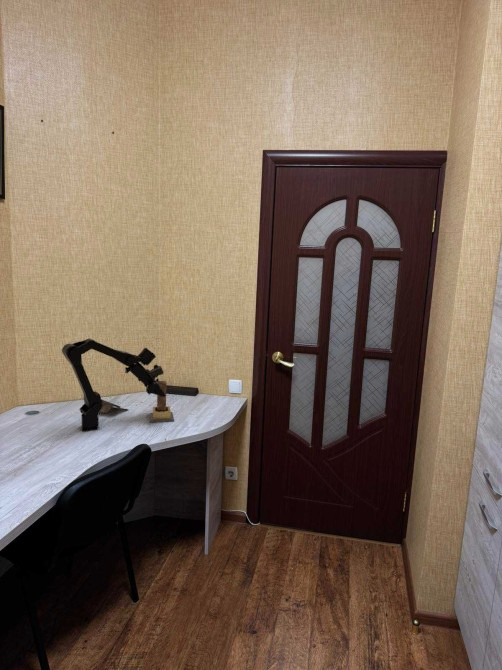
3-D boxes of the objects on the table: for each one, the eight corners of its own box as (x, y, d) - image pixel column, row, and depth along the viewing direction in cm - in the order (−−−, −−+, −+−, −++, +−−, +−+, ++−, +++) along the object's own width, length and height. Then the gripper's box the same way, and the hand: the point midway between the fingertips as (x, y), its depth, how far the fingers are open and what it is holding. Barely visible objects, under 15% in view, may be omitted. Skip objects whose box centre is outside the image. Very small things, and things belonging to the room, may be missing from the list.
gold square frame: (150, 422, 210) (150, 413, 210) (149, 414, 221) (149, 406, 220) (174, 421, 213) (174, 412, 212) (172, 413, 223) (172, 405, 223)
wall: (94, 414, 229) (80, 402, 217) (103, 399, 233) (90, 387, 221) (120, 425, 224) (107, 413, 211) (129, 409, 228) (117, 397, 215)
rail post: (157, 410, 214) (157, 383, 212) (157, 407, 217) (157, 381, 215) (165, 409, 215) (166, 383, 213) (165, 407, 218) (165, 380, 216)
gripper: (154, 365, 203) (178, 388, 207) (152, 356, 220) (175, 378, 225) (136, 382, 202) (160, 405, 206) (136, 372, 220) (158, 394, 224)
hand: (164, 395), depth 215 cm, fingers closed on rail post, 4 cm apart
